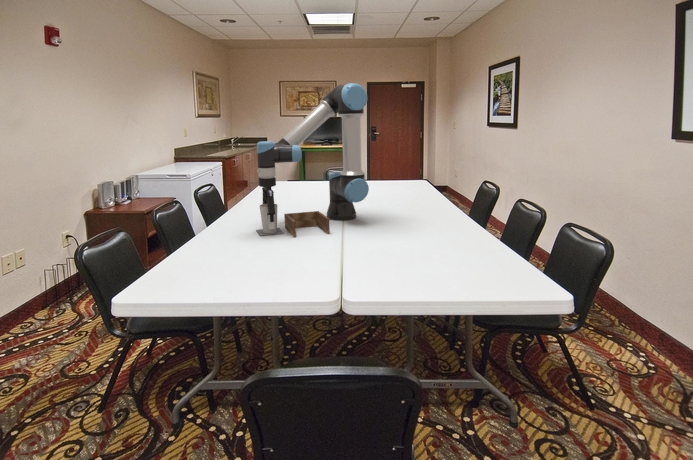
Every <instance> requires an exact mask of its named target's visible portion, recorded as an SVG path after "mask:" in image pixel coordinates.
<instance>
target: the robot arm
mask: <svg viewBox="0 0 693 460" xmlns="http://www.w3.org/2000/svg"><path fill="white" fill-rule="evenodd" d="M367 102H368V93H367V90H366V89H365V88H364V87H363V86H362V85H361V84H358V83H354V82H349V83H345V84H339V85H336V86H335V87H333V89H332V90H330V91H329V92H328V93H327V94H326V95H325V96H324V97H323V98H322V99H320V101H319V104H318V105H317V106H316V107H315V108H314V109H313V110H312V111H311V112H310V113H308V114H307V115H306V116H305V117H304V118H303V119H302V120H301V121H300V122H299V123H298V124H296V125H295V126H294V127H293V128H292V129H291V130H289V132H288V133H286V134H285V135H284V136H282V138H281V139H279V141H277V142H274V141H271V140H270V141H268V140H267V141H263V140H262V141H258V142H257V143H256V158H257V170H256V173H258V186H259V187H261V188H262V189H261V190H262V204H267V206H268V213H267V215H268V224H269V229H275V215H274V214H275V213H276V212H275V205H274V204H275V198H274V193H275V192H274V190H272V189H273V188H272V187H276V185H277V178H276V176H277V175H276V164H282V163H297V162H300V161H301V160H302V155H303V153H302V149H301V146H300V145H301V144H302V143H303V142H304V141H305V140H306V139H308V137H310V135H312V134H313V133H314V132H315V131H316V130H317V129H318V128H320V127H321V126H322V125H323V124H324V123H325V122H326V121H327V120H328V119H330V118H331V117H335V116H336V115H337V114H338V116H339V117H340V119H341V135H342V137H341V138H342V171H341V172H331V173H329V177H328V183H329V184H328V185H329V204H328V207H327V211H326V216H327V217H328V218H329V220H334V221H348V220H353V219H356V218H357V211H356V209H355V204H354V203H360V202H362V201H364V200H365V199H366V197H367V196H368V194H369V190H370V187H369V184H368V182H367V181H366V180H365V179H366V178H365V177H366V176H365V174H366V173H365V171H364V170H362V144H361V143H362V142H361V141H362V140H361V139H362V136H361V117H363V115H364V108H365V107H366V105H367V104H368V103H367Z"/></svg>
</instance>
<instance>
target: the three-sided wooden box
mask: <svg viewBox="0 0 693 460" xmlns="http://www.w3.org/2000/svg"><path fill="white" fill-rule="evenodd" d="M283 214H284V215H283V216H284V229H285V231H286V232H287V233H289V234H290V236H292V237H293V238H296V237H297V229H302V228H311V227H317V228H319V229H320V230H321V231H323V232H324V233H325V234H327V235H330V232H331V231H330V227H331V226H330V219H329V218H328V217H327V215H325V214H324V213H322V212H321V211H319V210H314V211H305V212H304V211H303V212H302V211H301V212H293V213H292V212H291V213H283Z"/></svg>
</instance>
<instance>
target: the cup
mask: <svg viewBox="0 0 693 460" xmlns="http://www.w3.org/2000/svg"><path fill="white" fill-rule="evenodd" d="M274 205H275V212H276V213H275V214H274V215H275V229H269V224H268V215H267V213H268V206H267V204H263V203H262V204H260V205H259V211H260V218H261V224H262V226H261V227H262V229H263V232H264V233H274V232H277V228H278V204H277V203H274Z"/></svg>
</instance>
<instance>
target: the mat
mask: <svg viewBox="0 0 693 460" xmlns="http://www.w3.org/2000/svg"><path fill="white" fill-rule="evenodd" d="M255 231H256V233H257V234H258V236H259V237H265V236H268V237H269V236H275V235H276V236H278V235H284V234H285V232H284V230H282V229H281V227H277V232H274V233H264V232H263V228H259V229H255Z"/></svg>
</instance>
